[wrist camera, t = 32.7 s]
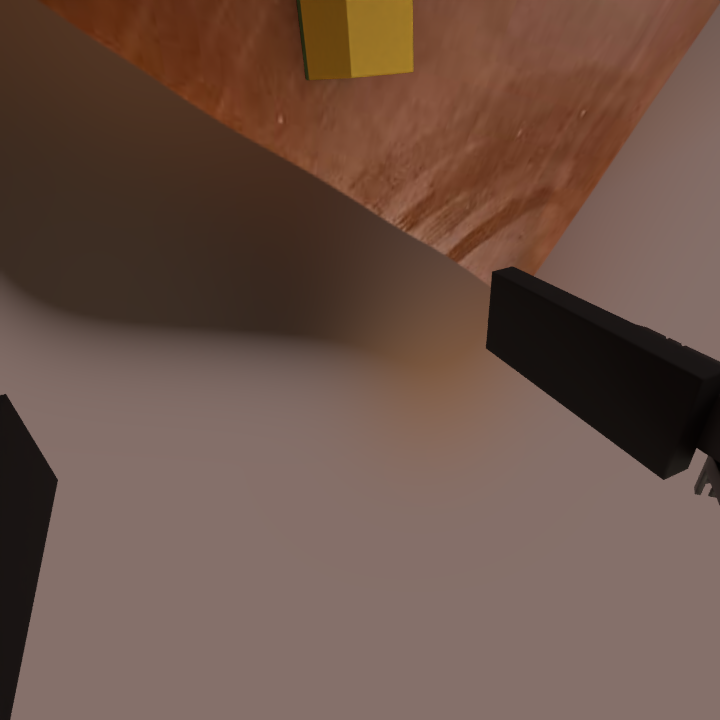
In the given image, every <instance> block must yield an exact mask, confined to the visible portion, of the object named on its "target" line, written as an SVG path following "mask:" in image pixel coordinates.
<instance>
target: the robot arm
mask: <svg viewBox="0 0 720 720" xmlns="http://www.w3.org/2000/svg"><path fill="white" fill-rule="evenodd" d="M486 349H488V350H489V351H490V352H492V353H493V354H495V355H496V356H497V357H499V358H500V359H501V360H503V361H504V362H505V363H507V364H508V365H509V366H511V367H512V368H514V369H515V370H516V371H517V372H519V373H520V374H521V375H523V376H524V377H525V378H527V379H528V380H530V381H531V382H532V383H534V384H535V385H536V386H538V387H539V388H540V389H542V390H543V391H544V392H546V393H547V394H548V395H550V396H551V397H552V398H554V399H555V400H557V401H558V402H559V403H561V404H562V405H563V406H565V407H566V408H567V409H569V410H570V411H571V412H573V413H574V414H575V415H577V416H578V417H580V418H581V419H582V420H584V421H585V422H586V423H587V424H589V425H590V426H591V427H593V428H594V429H596V430H597V431H598V432H600V433H601V434H602V435H604V436H605V437H606V438H608V439H609V440H610V441H612V442H613V443H614V444H616V445H617V446H618V447H620V448H621V449H623V450H624V451H625V452H627V453H628V454H629V455H631V456H632V457H633V458H635V459H636V460H637V461H639V462H640V463H641V464H643V465H644V466H645V467H647V468H648V469H650V470H651V471H652V472H653V473H655V474H657V476H659V477H660V478H662V479H663V480H665V479H667V478H669V477H671V476H673V475H675V474H677V473H680V472H682V471H684V470H686V469H688V467H689V464H690V462H691V460H692V457H693V455H694V453H695V450H696V448H698V449H699V450H701V451H702V452H704V453H705V454H707V455H708V458H707V460H706V462H705V464H704V467H703V469H702V471H701V473H700V475H699V478H698V480H697V482H696V485H695V487H694V490H695V494H697V495H700V494H701V493H702V490H703V488H704V486H705V484H707V483H711V485H712V488H711V490H710V493H709V495H708V496H710V497H716V498H717V499H718V502H719V505H720V362H719V361H717V360H715V359H713V358H711V357H709V356H707V355H704V354H702V353H700V352H698V351H696V350H694V349H691V348H689V347H687V346H682V345H681V343H679V342H677V341H675V340H672V339H670V338H668V339H666V337H665V336H664V335H662V334H660V333H657V332H655V331H653V330H651V329H649V328H647V327H643V326H640V325H635V324H633V323H631V322H629V321H627V320H625V319H623V318H621V317H619V316H616V315H614V314H612V313H610V312H608V311H606V310H604V309H602V308H600V307H597V306H595V305H593V304H591V303H589V302H587V301H585V300H582V299H580V298H578V297H576V296H574V295H572V294H569V293H568V292H566V291H563V290H561V289H559V288H557V287H555V286H553V285H551V284H549V283H547V282H545V281H542V280H540V279H538V278H536V277H534V276H532V275H530V274H528V273H526V272H523V271H521V270H519V269H517V268H515V267H509V268H505V269H501V270H497V271H493V272H492V281H491V294H490V306H489V318H488V330H487V342H486ZM57 482H58V479H57V478H56V476H55V474H54V473H53V471H52V469H51V468H50V466H49V465H48V463H47V461H46V459H45V458H44V456H43V455H42V453H41V451H40V450H39V448H38V446H37V445H36V443H35V441H34V440H33V438H32V437H31V435H30V433H29V432H28V430H27V428H26V426H25V425H24V423H23V421H22V420H21V418H20V416H19V415H18V413H17V412H16V410H15V408H14V407H13V405H12V403H11V402H10V400H9V398H8V397H7V395H6V394H4V395H0V720H10V717H11V713H12V708H13V703H14V698H15V692H16V687H17V682H18V677H19V672H20V667H21V662H22V657H23V652H24V647H25V642H26V637H27V632H28V627H29V622H30V617H31V612H32V607H33V602H34V597H35V592H36V587H37V582H38V577H39V572H40V567H41V562H42V557H43V552H44V547H45V542H46V537H47V532H48V527H49V522H50V517H51V512H52V507H53V502H54V497H55V492H56V487H57Z"/></svg>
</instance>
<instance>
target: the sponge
mask: <svg viewBox="0 0 720 720" xmlns="http://www.w3.org/2000/svg"><path fill="white" fill-rule="evenodd" d="M297 8H298V17H299V25H300V34H301V42H302V51H303V60H304V68H305V77H306V80H321V79H341V78H357V77H368V76H379V75H390V74H400V73H411V72H413V0H297Z"/></svg>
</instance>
